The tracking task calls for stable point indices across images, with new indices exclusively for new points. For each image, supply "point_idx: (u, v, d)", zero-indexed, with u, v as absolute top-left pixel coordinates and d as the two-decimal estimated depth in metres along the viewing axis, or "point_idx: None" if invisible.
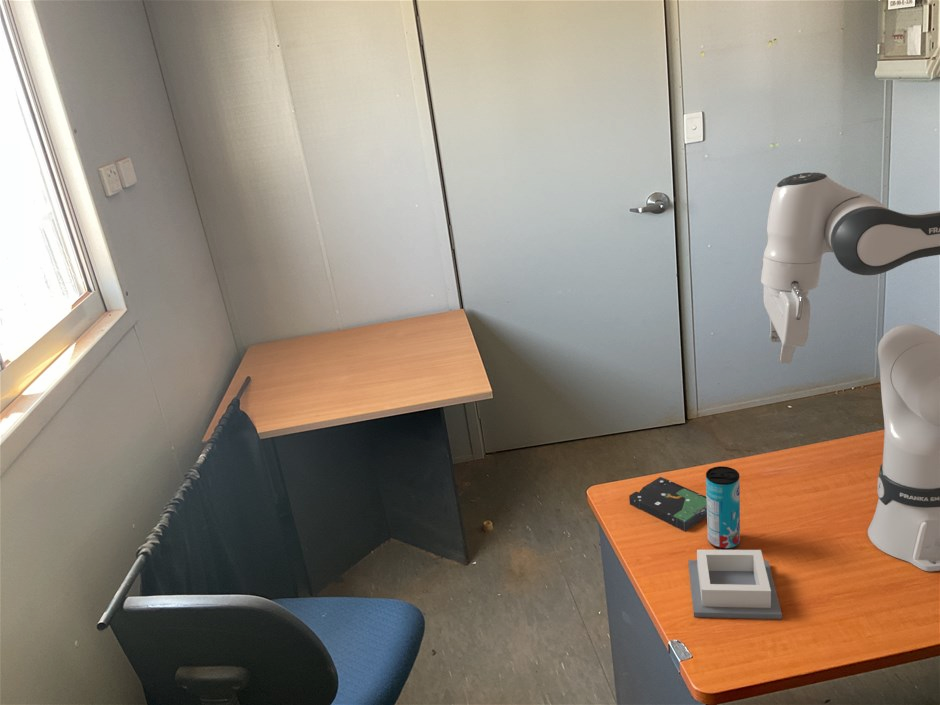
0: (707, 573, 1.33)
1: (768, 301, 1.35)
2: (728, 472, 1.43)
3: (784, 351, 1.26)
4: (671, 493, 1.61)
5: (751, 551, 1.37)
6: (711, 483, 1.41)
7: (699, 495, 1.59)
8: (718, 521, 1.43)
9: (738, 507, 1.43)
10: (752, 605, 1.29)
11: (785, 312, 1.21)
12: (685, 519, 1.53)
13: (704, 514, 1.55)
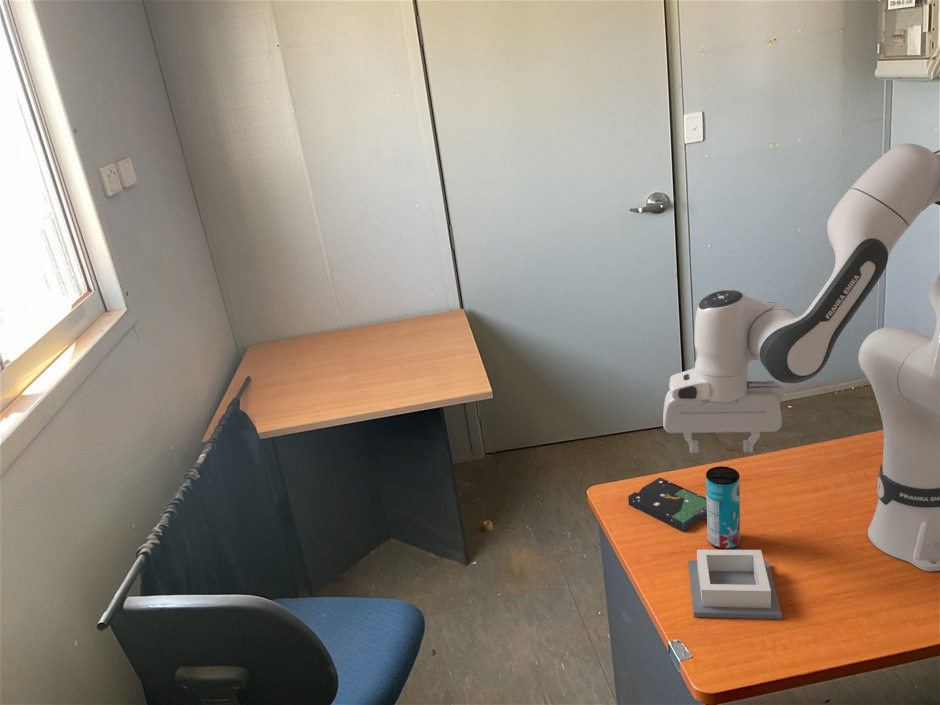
0: (707, 573, 1.33)
1: (689, 421, 1.37)
2: (728, 472, 1.43)
3: None
4: (670, 494, 1.61)
5: (751, 551, 1.37)
6: (711, 483, 1.41)
7: (698, 496, 1.59)
8: (718, 521, 1.43)
9: (738, 507, 1.43)
10: (752, 605, 1.29)
11: (774, 405, 1.33)
12: (684, 519, 1.52)
13: (702, 515, 1.55)
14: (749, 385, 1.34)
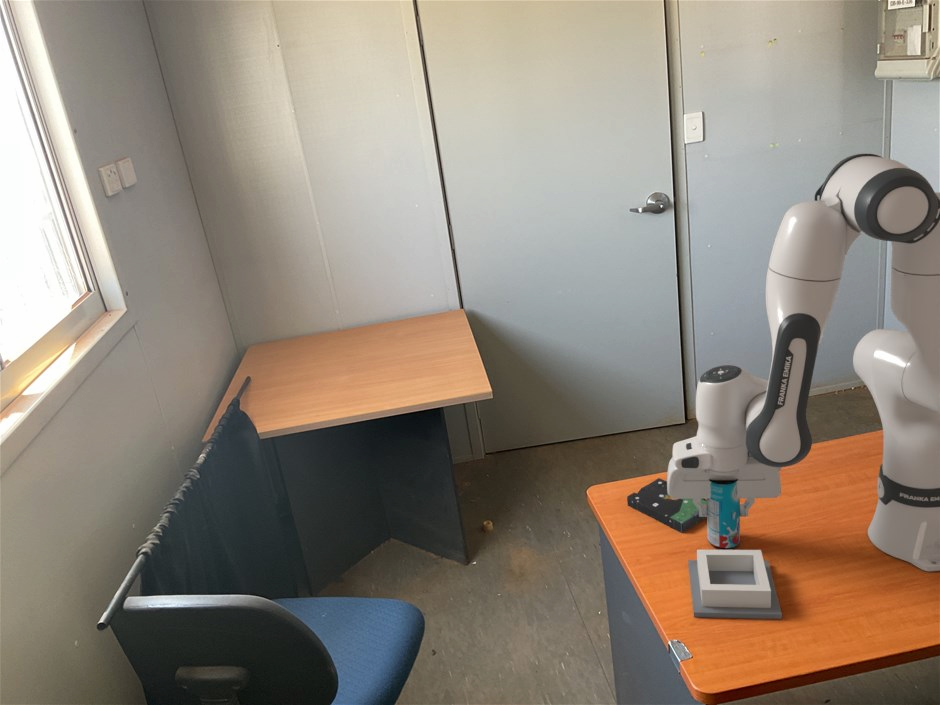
0: (707, 573, 1.33)
1: (692, 488, 1.42)
2: None
3: None
4: None
5: (751, 551, 1.37)
6: (711, 483, 1.41)
7: None
8: (718, 521, 1.43)
9: (738, 507, 1.43)
10: (752, 605, 1.29)
11: (773, 473, 1.38)
12: (682, 520, 1.52)
13: None
14: (749, 454, 1.39)
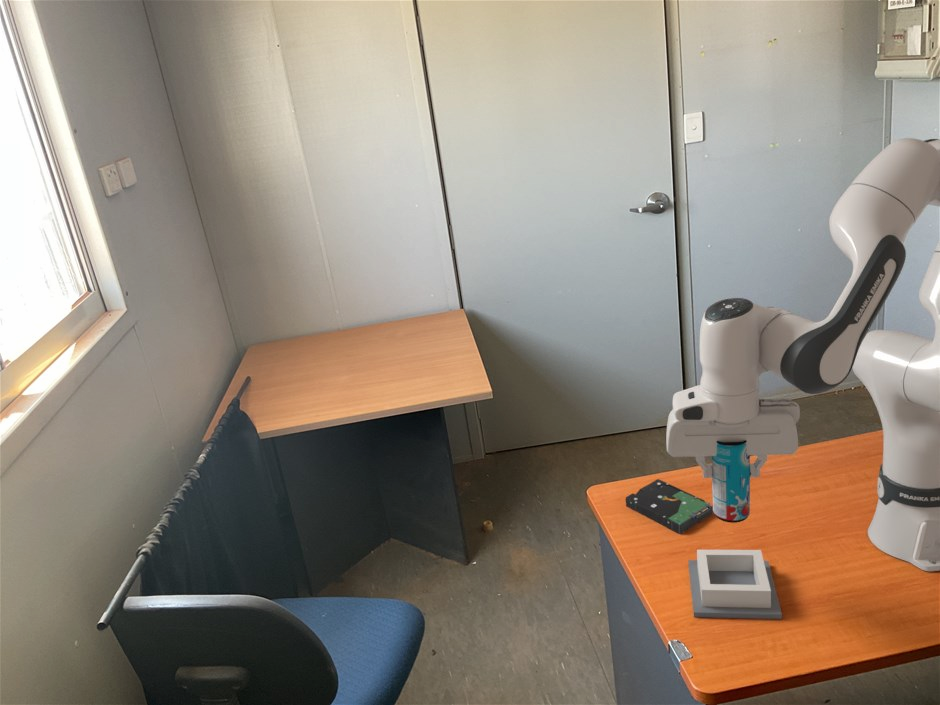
0: (707, 573, 1.33)
1: (695, 444, 1.24)
2: None
3: None
4: (667, 496, 1.61)
5: (751, 551, 1.37)
6: (717, 444, 1.23)
7: (696, 498, 1.59)
8: (725, 489, 1.25)
9: (748, 473, 1.24)
10: (752, 605, 1.29)
11: (789, 425, 1.19)
12: (680, 521, 1.52)
13: (699, 518, 1.54)
14: (761, 403, 1.20)
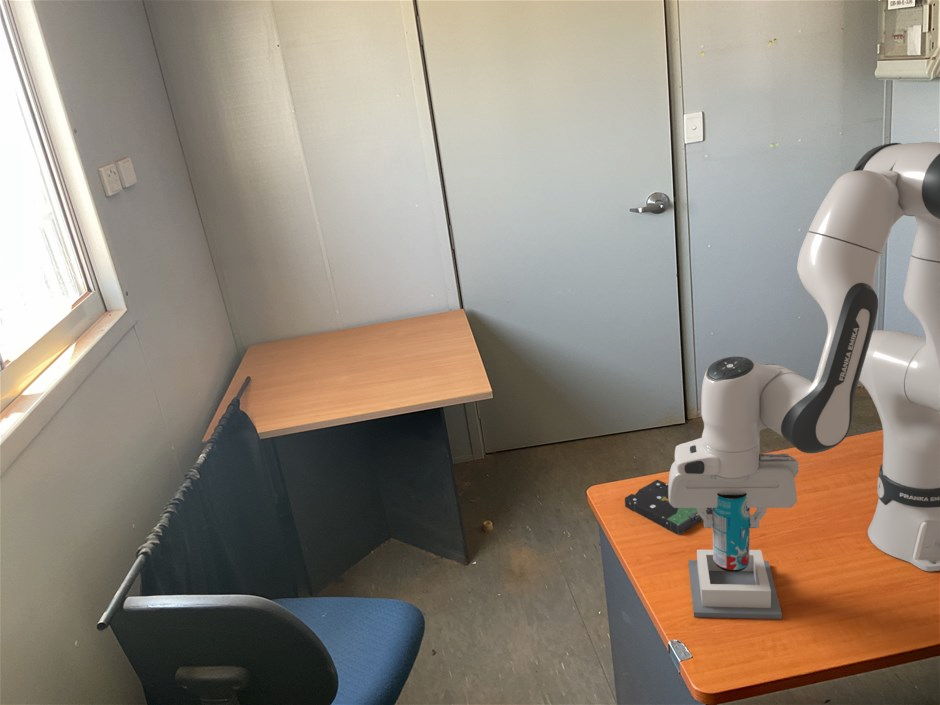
0: (707, 573, 1.33)
1: (696, 496, 1.27)
2: None
3: None
4: (666, 496, 1.60)
5: (751, 551, 1.37)
6: (718, 497, 1.26)
7: None
8: (725, 539, 1.28)
9: (748, 524, 1.28)
10: (752, 605, 1.29)
11: (788, 480, 1.23)
12: (679, 522, 1.52)
13: (698, 518, 1.54)
14: (761, 458, 1.24)
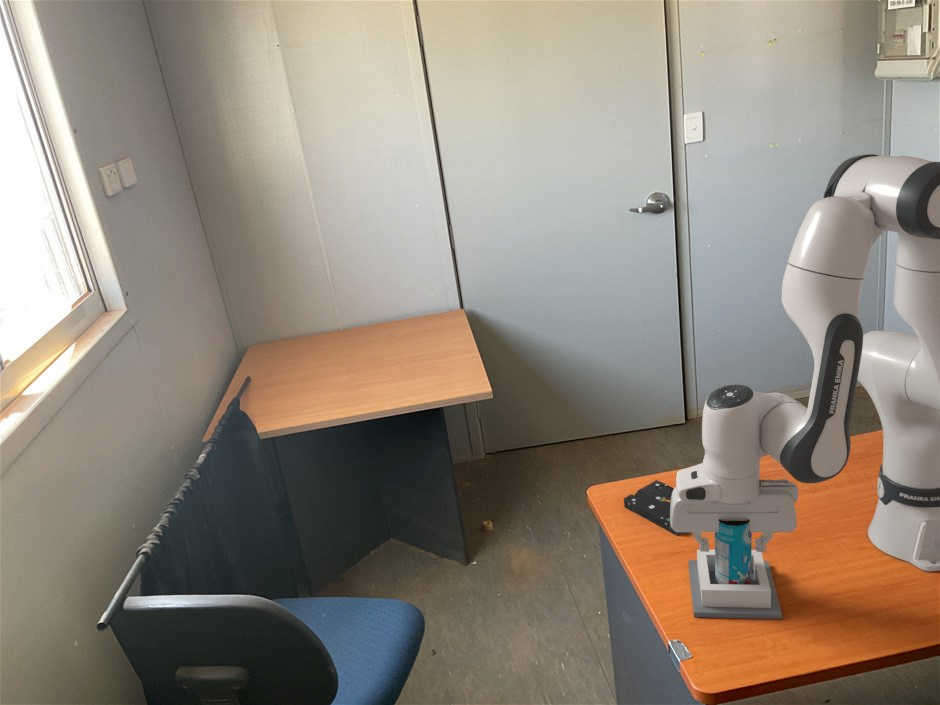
0: (707, 573, 1.33)
1: (698, 521, 1.29)
2: None
3: None
4: (666, 497, 1.60)
5: (751, 551, 1.37)
6: (720, 523, 1.28)
7: None
8: (728, 565, 1.30)
9: (750, 550, 1.29)
10: (752, 605, 1.29)
11: (788, 505, 1.25)
12: None
13: None
14: (761, 484, 1.25)
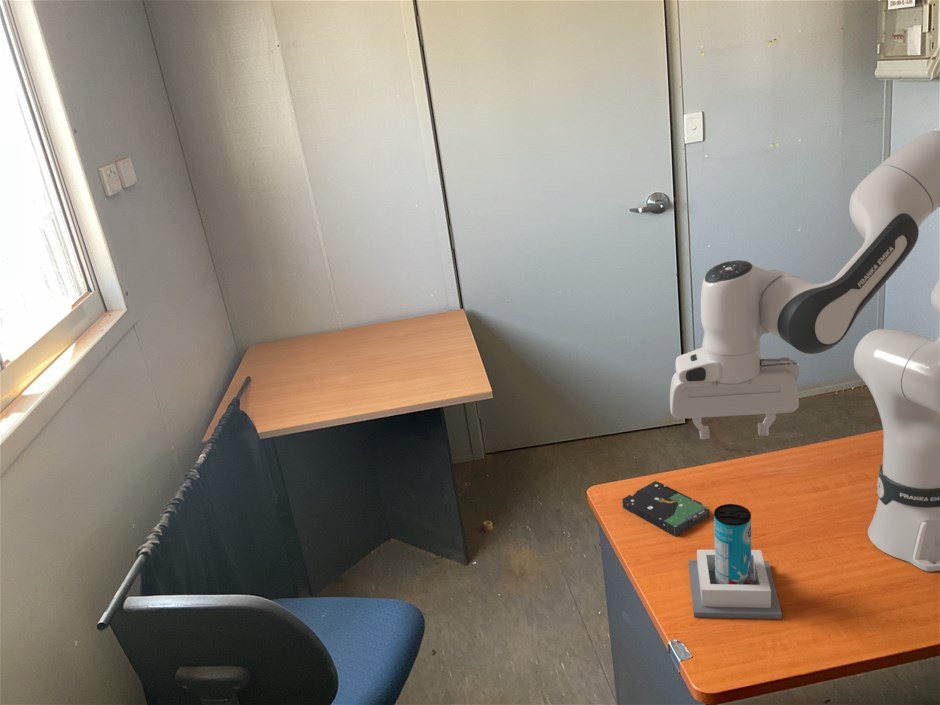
0: (707, 573, 1.33)
1: (698, 406, 1.27)
2: (738, 511, 1.30)
3: None
4: (664, 498, 1.60)
5: (751, 551, 1.37)
6: (720, 523, 1.28)
7: (693, 500, 1.58)
8: (727, 564, 1.30)
9: (749, 549, 1.29)
10: (752, 605, 1.29)
11: (790, 383, 1.23)
12: (676, 524, 1.51)
13: (696, 520, 1.53)
14: (762, 363, 1.23)
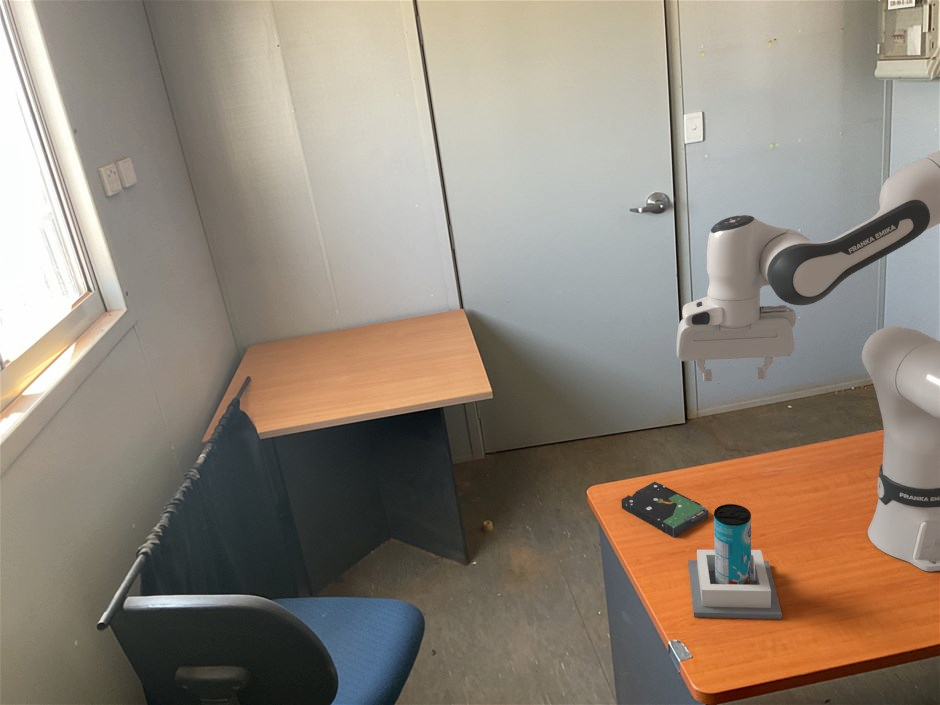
0: (707, 573, 1.33)
1: (702, 349, 1.39)
2: (738, 511, 1.30)
3: None
4: (663, 498, 1.60)
5: (751, 551, 1.37)
6: (720, 523, 1.28)
7: (691, 501, 1.58)
8: (727, 565, 1.30)
9: (749, 549, 1.29)
10: (752, 605, 1.29)
11: (786, 329, 1.35)
12: (675, 525, 1.51)
13: (694, 521, 1.53)
14: (761, 310, 1.35)
